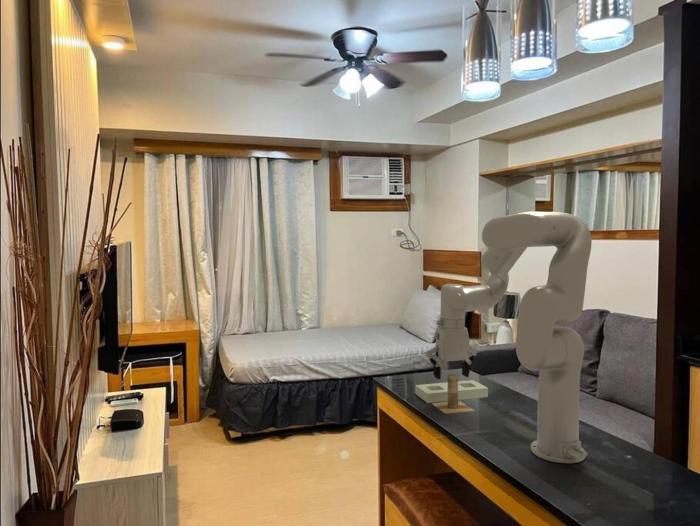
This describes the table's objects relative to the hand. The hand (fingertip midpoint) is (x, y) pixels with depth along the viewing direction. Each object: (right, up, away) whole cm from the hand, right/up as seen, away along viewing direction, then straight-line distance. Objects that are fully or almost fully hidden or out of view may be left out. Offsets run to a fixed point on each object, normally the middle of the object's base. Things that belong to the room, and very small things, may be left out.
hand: (451, 377), depth 158 cm
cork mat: (0, -10, 0) cm, 10 cm away
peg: (0, -9, 0) cm, 9 cm away
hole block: (+2, -9, +12) cm, 15 cm away
